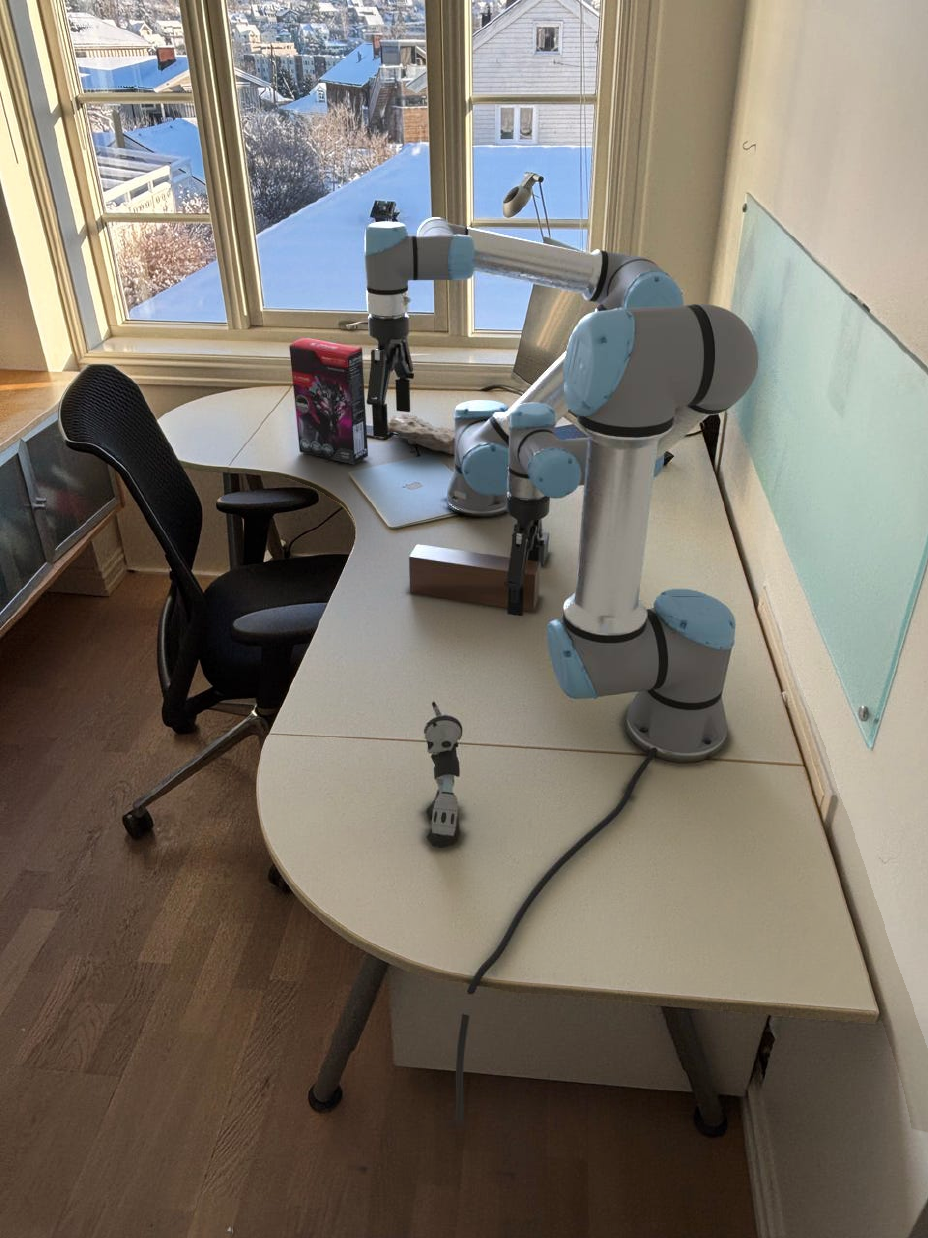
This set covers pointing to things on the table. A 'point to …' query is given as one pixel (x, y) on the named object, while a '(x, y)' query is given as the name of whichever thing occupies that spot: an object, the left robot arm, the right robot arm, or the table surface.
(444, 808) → the robot
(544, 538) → the slate grey block
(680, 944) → the table surface
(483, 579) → the brown rectangular block
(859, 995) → the table surface
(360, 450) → the graphics card box
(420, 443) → the stone
